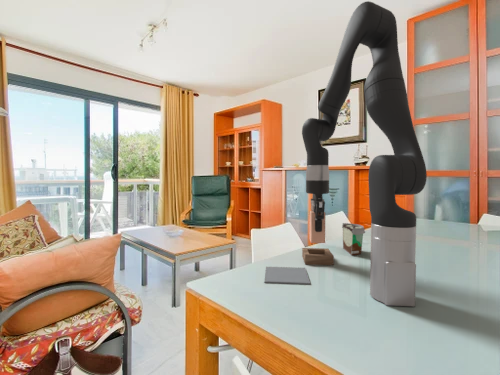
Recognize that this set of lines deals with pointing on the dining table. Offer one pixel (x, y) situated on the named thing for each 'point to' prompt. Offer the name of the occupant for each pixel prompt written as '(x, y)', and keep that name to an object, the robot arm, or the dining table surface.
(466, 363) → the dining table surface
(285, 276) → the rubber mat
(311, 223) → the terracotta block
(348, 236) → the food container
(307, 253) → the walnut pocket
